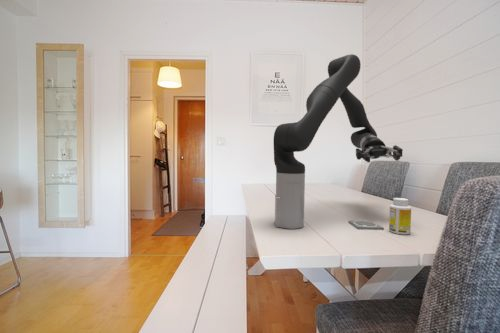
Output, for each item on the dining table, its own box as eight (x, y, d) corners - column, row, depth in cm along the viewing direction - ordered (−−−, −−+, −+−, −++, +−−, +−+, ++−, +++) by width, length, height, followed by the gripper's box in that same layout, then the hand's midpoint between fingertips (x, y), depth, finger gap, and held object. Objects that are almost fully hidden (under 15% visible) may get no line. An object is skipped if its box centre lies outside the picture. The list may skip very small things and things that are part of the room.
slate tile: (357, 229, 79) (357, 226, 79) (348, 222, 87) (348, 220, 87) (383, 229, 79) (383, 227, 79) (371, 222, 87) (371, 220, 87)
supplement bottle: (413, 232, 76) (414, 199, 75) (406, 236, 72) (407, 201, 72) (393, 228, 80) (394, 196, 80) (385, 231, 77) (387, 198, 76)
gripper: (352, 138, 98) (359, 149, 83) (392, 134, 94) (408, 145, 79) (352, 156, 100) (359, 170, 85) (392, 154, 96) (407, 168, 81)
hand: (383, 158), depth 82 cm, fingers open, 8 cm apart
